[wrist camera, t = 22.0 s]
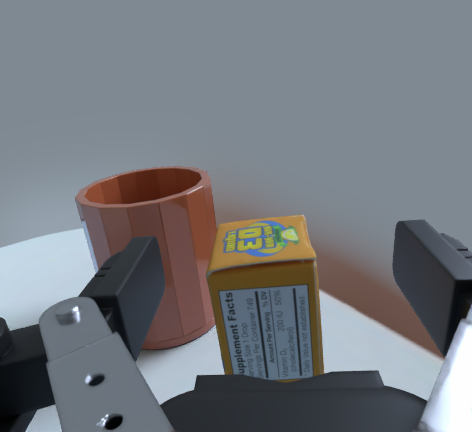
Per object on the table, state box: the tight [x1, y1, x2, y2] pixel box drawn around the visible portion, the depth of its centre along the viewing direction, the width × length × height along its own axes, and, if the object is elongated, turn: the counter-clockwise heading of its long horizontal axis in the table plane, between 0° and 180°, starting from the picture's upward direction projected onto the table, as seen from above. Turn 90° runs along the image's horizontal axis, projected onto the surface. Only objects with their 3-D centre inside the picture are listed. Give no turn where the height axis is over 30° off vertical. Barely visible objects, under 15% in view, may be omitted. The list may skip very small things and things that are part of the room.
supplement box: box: [206, 215, 324, 382], centre depth 13 cm, size 3×3×10 cm
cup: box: [75, 166, 217, 349], centre depth 23 cm, size 8×8×9 cm
